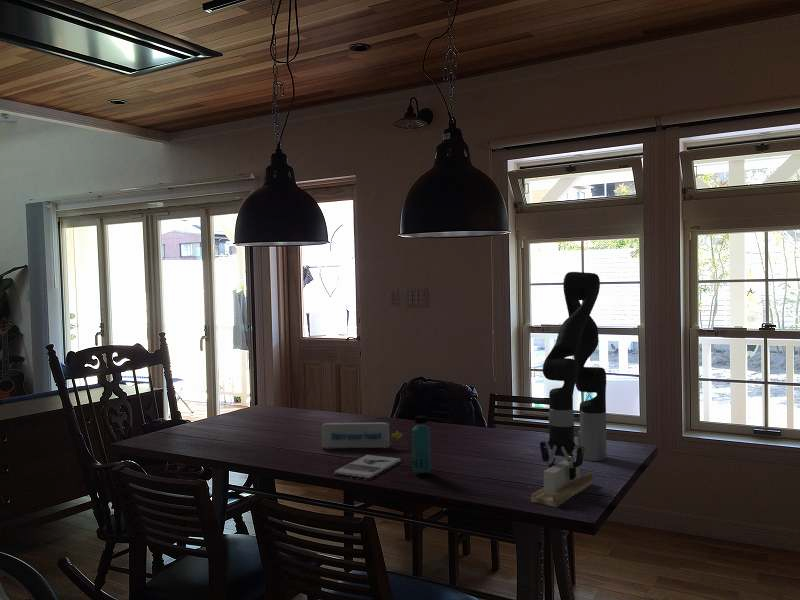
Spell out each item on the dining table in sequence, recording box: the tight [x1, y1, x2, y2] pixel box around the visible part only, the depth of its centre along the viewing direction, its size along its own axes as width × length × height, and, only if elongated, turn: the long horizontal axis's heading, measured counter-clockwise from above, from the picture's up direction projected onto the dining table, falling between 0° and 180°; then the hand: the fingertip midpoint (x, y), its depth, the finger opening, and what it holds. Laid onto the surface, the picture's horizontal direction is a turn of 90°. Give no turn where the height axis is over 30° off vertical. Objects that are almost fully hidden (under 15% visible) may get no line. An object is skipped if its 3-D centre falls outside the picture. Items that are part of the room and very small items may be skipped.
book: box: [334, 454, 401, 478], centre depth 228 cm, size 23×14×2 cm, turn 153°
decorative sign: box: [320, 421, 403, 449], centre depth 257 cm, size 32×4×10 cm, turn 87°
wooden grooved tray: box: [530, 472, 593, 508], centre depth 197 cm, size 8×26×4 cm, turn 141°
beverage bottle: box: [411, 415, 432, 473], centre depth 219 cm, size 6×7×20 cm
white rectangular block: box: [543, 457, 581, 496], centre depth 197 cm, size 4×18×7 cm, turn 141°
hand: (562, 477), depth 197 cm, fingers open, 5 cm apart
